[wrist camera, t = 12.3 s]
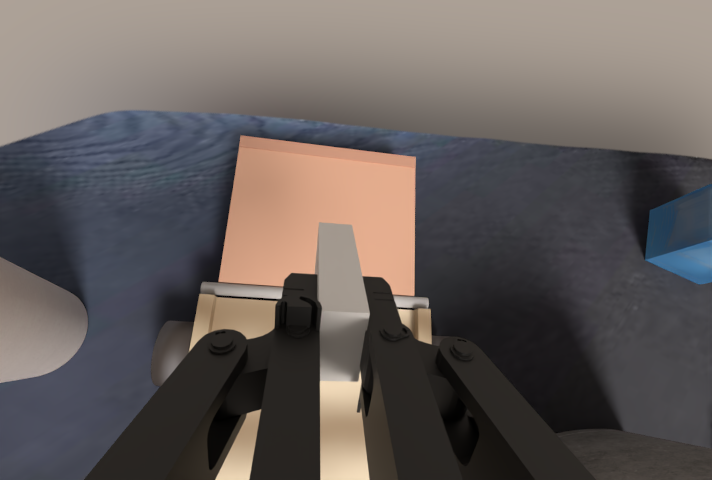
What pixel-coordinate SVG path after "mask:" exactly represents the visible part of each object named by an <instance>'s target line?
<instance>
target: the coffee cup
mask: <svg viewBox="0 0 712 480" xmlns="http://www.w3.org/2000/svg"><path fill="white" fill-rule="evenodd" d="M87 328H88V316H87V312H86V309H85V307H84V305H83V303H82V302H81V301H80V299H79V298H78V297H76V296H75V295H74V294H72V293H71V292H69V291H67V290H65V289H63V288H61V287H59V286H57V285H55V284H53V283H51V282H49V281H47V280H45V279H43V278H41V277H39V276H37V275H35V274H33V273H31V272H29V271H27V270H25V269H23V268H21V267H19V266H17V265H15V264H13V263H11V262H9V261H7V260H5V259H3V258H1V257H0V383H2V382H8V381H14V380H20V379H25V378H31V377H37V376H41V375H44V374H47V373H50V372H52V371H54V370H56V369H58V368H59V367H61V366H62V365H64V364H65V363H66V362H67V361H69V360H70V359H71V358H72V357H73V356H74V355H75V353H76V352H77V351H78V349H79V348H80V346H81V345H82V343H83V341H84V339H85V336H86V333H87Z"/></svg>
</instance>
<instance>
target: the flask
mask: <svg viewBox="0 0 712 480" xmlns="http://www.w3.org/2000/svg"><path fill="white" fill-rule="evenodd" d="M555 434H556V435H557V436H558V437H559V438H560V439H561V441H562V442H563V443H564V444H565V445H566V446H567V447H568V448H569V450H570V451H571V452H572V453H573V454H574V455H575V456H576V458H577V459H578V460H579V461H580V462H581V463H582V464H583V465H584V467H585V468H586V469H587V470H588V471H589V472H590V473H591V475H592V476H593V477H594V478H595V479H596V480H712V449H710V448H705V447H700V446H695V445H690V444H685V443H680V442H675V441H670V440H665V439H660V438H655V437H650V436H645V435H640V434H635V433H630V432H625V431H620V430H615V429H583V430H573V431H566V432H560V433H555Z"/></svg>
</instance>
